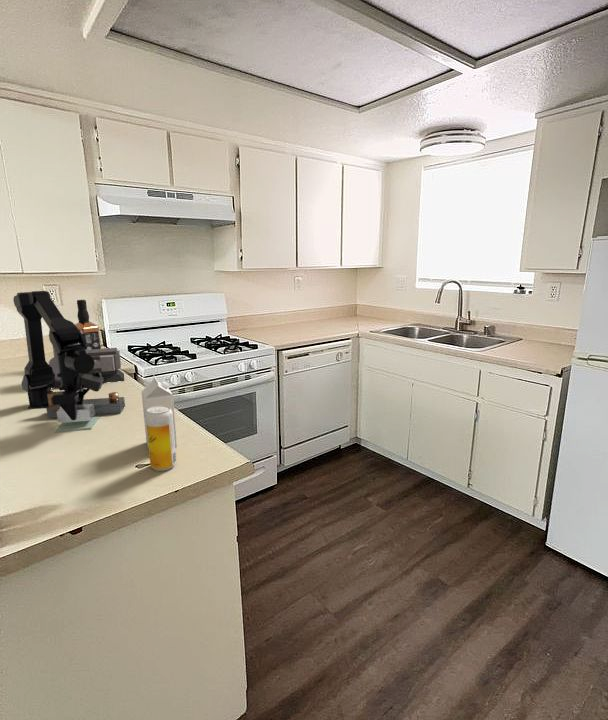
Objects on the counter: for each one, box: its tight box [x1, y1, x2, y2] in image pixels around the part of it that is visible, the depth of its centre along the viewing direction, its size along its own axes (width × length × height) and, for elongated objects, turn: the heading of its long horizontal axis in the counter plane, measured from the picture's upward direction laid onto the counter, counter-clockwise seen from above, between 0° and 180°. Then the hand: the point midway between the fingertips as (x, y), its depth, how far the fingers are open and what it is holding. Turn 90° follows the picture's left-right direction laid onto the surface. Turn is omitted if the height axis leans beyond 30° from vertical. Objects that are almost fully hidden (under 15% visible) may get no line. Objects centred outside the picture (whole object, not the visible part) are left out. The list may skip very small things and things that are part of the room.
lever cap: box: [57, 404, 96, 423], centre depth 127 cm, size 9×5×4 cm, turn 102°
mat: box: [54, 416, 100, 433], centre depth 127 cm, size 10×9×1 cm
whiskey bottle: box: [75, 299, 102, 350], centre depth 191 cm, size 10×10×32 cm
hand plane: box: [45, 391, 126, 419], centre depth 137 cm, size 22×7×8 cm, turn 102°
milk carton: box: [141, 375, 178, 449], centre depth 112 cm, size 7×7×19 cm
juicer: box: [48, 323, 125, 388], centre depth 170 cm, size 30×16×24 cm, turn 112°
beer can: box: [146, 405, 177, 472], centre depth 100 cm, size 6×6×15 cm
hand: (76, 416), depth 127 cm, fingers closed on lever cap, 5 cm apart
